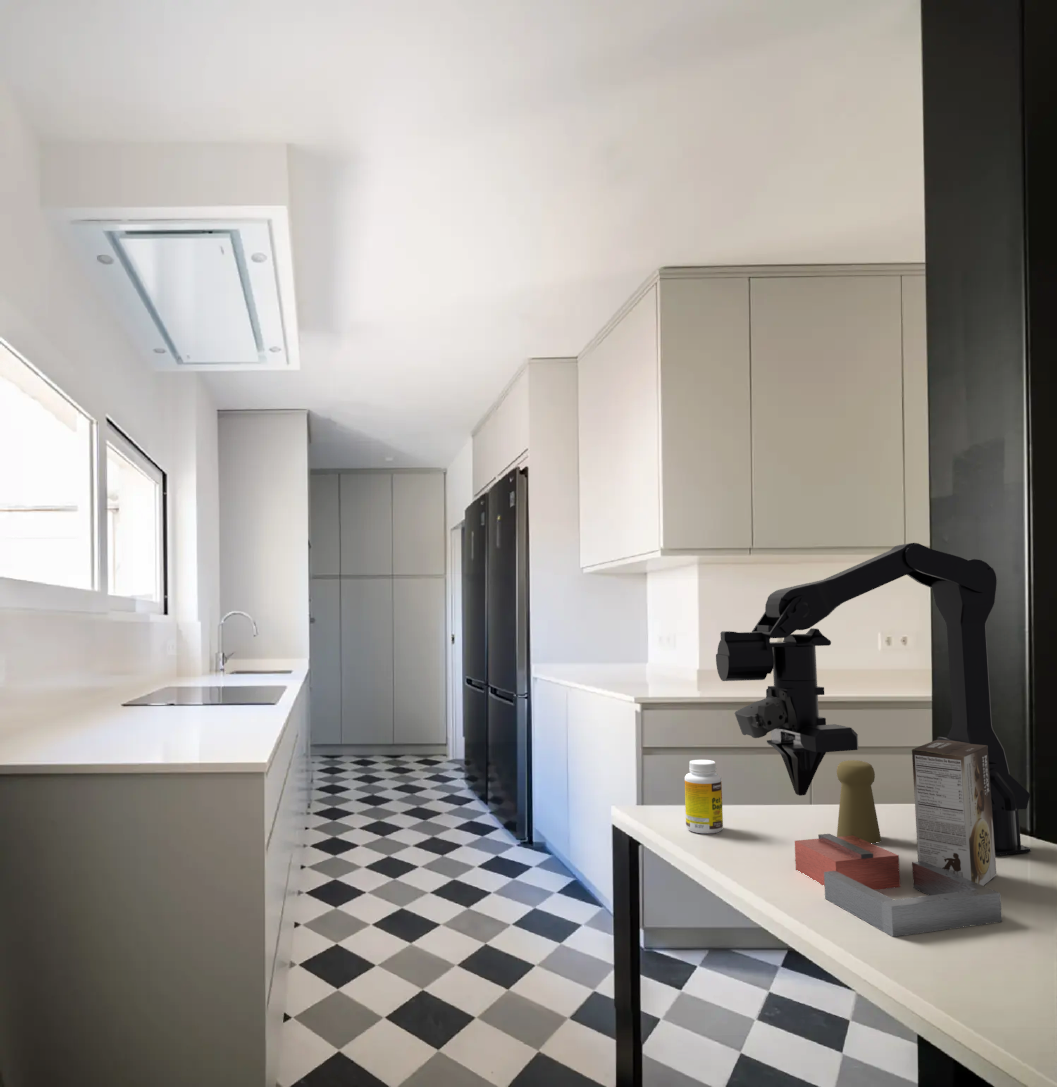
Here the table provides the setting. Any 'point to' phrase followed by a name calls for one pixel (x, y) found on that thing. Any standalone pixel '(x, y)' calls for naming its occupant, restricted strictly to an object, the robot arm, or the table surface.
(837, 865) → the block
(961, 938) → the table surface
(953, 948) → the table surface
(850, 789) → the olive tapered upright piece
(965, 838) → the coffee box
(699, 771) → the supplement bottle
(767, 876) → the table surface
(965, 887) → the tray
